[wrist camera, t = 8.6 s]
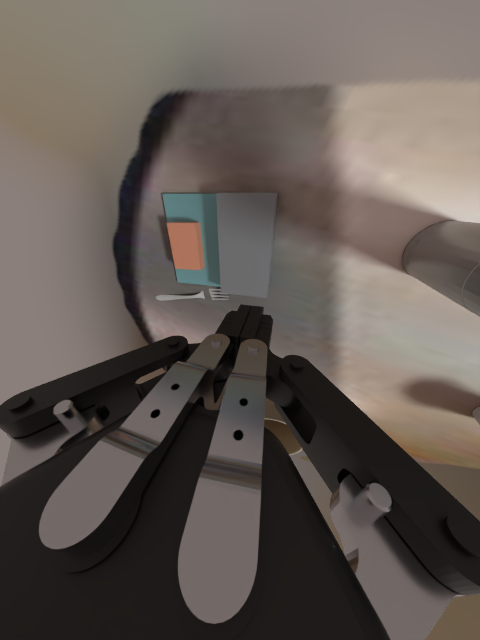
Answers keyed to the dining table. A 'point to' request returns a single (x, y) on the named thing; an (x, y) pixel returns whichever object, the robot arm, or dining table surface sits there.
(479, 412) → the coffee cup
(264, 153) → the dining table surface
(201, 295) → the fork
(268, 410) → the plant pot
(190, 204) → the mat
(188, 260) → the tile
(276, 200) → the panel
